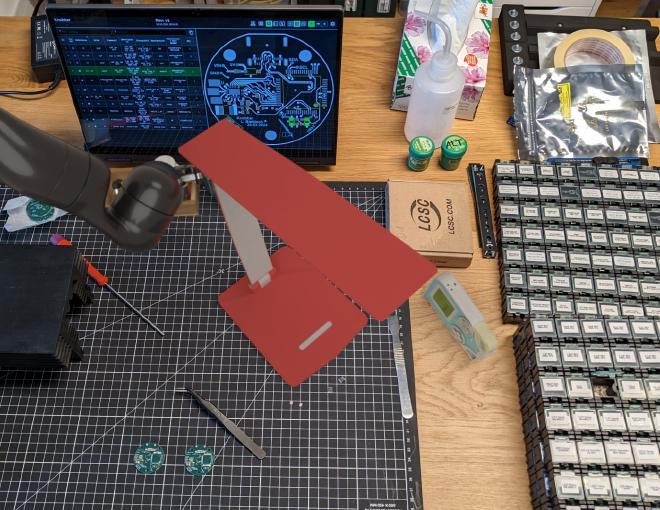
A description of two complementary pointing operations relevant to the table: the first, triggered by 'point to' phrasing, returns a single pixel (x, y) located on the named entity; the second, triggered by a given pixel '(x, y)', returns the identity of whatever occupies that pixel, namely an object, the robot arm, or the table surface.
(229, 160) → the desk lamp
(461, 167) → the table surface
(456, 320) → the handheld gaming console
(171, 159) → the pill bottle
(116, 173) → the wooden box
